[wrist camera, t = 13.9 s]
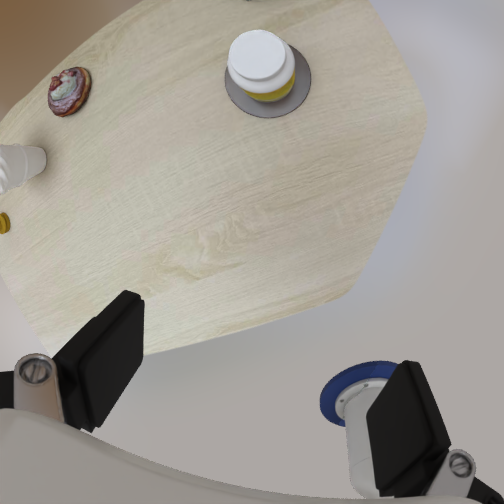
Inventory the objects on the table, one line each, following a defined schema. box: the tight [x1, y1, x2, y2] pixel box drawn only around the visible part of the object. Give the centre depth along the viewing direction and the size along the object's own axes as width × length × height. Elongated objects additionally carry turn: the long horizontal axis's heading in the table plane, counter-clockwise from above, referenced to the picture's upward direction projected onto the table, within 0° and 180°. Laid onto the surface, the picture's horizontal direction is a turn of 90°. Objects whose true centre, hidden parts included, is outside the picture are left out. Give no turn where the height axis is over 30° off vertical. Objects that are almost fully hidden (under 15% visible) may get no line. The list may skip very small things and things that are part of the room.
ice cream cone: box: [0, 144, 47, 195], centre depth 31 cm, size 8×8×16 cm
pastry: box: [48, 67, 91, 117], centre depth 32 cm, size 8×8×5 cm
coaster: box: [225, 45, 311, 118], centre depth 31 cm, size 10×10×1 cm
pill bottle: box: [227, 30, 295, 102], centre depth 26 cm, size 6×6×11 cm
